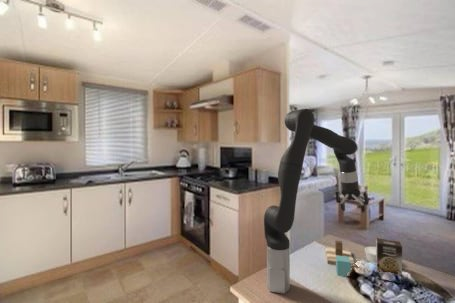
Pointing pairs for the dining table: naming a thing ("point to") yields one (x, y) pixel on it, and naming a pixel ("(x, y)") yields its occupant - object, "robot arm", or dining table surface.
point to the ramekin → (371, 254)
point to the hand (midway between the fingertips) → (353, 211)
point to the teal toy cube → (343, 265)
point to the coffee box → (388, 256)
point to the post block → (337, 253)
